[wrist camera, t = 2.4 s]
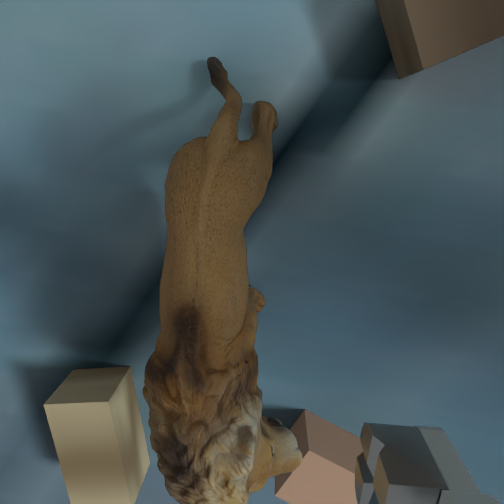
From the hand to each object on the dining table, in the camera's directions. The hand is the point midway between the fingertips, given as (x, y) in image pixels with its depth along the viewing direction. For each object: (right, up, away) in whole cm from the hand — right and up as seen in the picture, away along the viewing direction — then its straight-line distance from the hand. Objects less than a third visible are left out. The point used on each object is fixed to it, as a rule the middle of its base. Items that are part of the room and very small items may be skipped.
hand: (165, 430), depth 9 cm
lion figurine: (+1, +4, +10) cm, 11 cm away
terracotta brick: (+6, -7, +13) cm, 16 cm away
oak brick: (-6, -5, +13) cm, 15 cm away
